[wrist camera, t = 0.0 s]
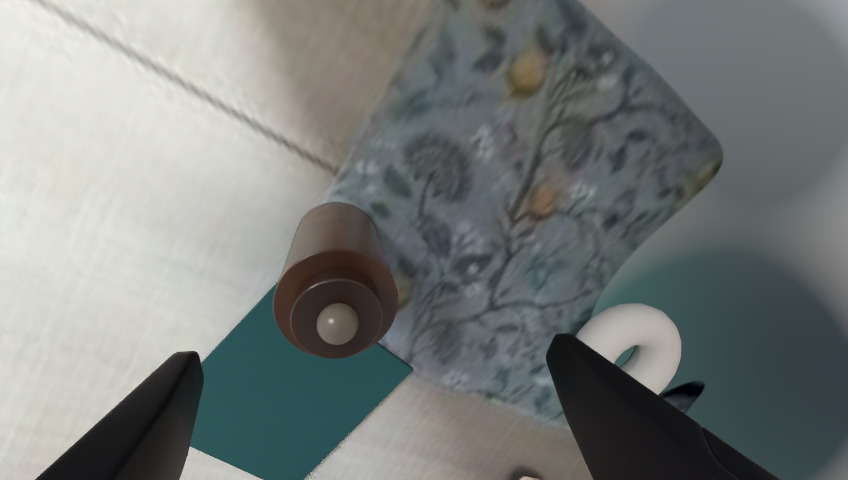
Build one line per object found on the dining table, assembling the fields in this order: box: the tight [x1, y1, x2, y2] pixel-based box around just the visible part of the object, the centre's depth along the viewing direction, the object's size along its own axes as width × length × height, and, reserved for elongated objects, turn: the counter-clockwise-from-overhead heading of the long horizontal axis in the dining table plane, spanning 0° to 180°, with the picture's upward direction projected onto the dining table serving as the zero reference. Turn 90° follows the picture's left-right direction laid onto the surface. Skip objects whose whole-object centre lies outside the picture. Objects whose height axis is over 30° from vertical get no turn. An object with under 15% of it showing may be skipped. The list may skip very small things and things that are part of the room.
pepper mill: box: [273, 202, 398, 359], centre depth 19 cm, size 5×5×11 cm
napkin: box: [190, 282, 413, 480], centre depth 26 cm, size 14×12×1 cm
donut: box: [576, 303, 681, 395], centre depth 31 cm, size 10×4×10 cm
